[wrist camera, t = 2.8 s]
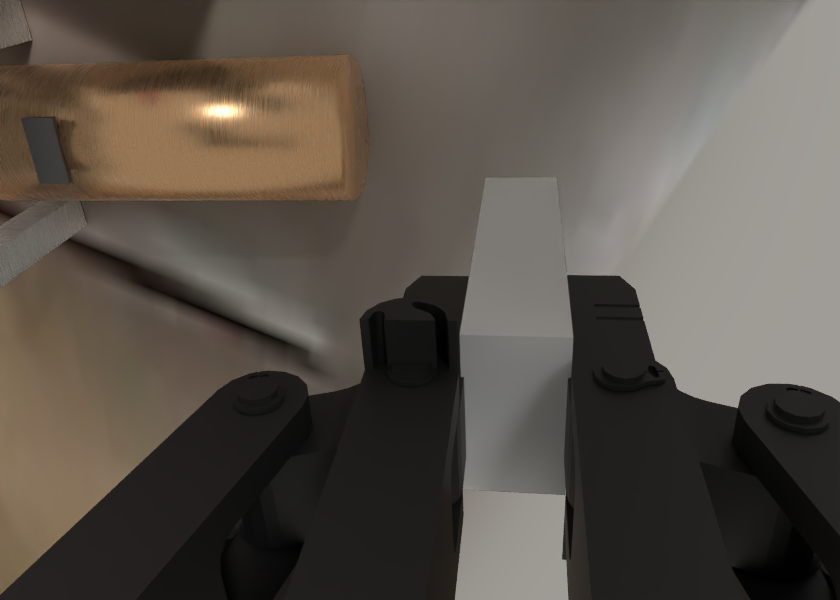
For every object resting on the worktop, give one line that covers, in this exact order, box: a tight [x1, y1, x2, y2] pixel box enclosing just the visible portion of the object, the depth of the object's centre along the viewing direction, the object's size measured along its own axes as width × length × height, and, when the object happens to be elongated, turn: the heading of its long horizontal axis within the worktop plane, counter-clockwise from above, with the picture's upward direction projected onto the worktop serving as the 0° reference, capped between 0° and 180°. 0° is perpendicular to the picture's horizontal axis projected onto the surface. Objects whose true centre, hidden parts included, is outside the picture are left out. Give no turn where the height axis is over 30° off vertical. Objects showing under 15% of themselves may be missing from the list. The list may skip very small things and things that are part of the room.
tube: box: [0, 55, 369, 201], centre depth 23 cm, size 12×4×4 cm, turn 93°
